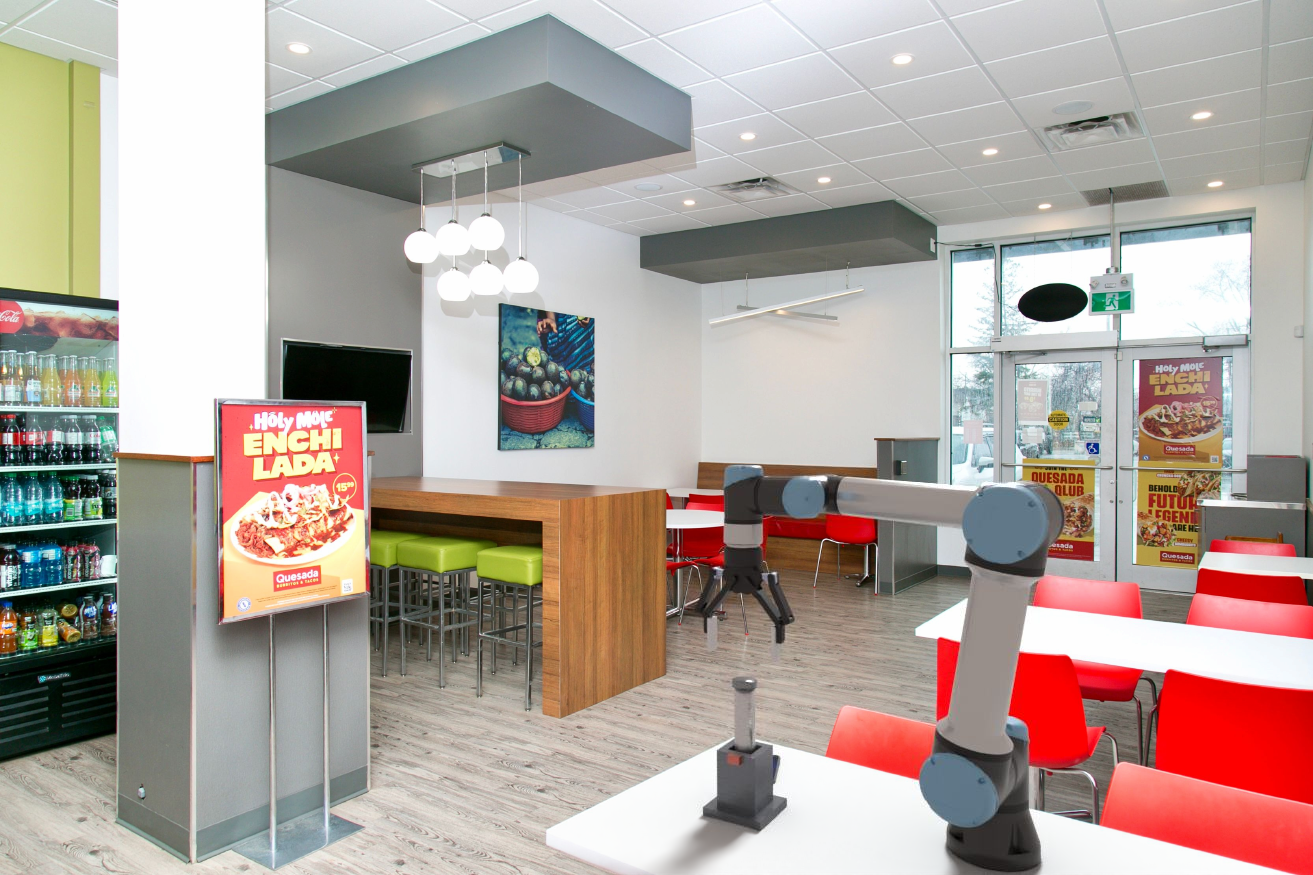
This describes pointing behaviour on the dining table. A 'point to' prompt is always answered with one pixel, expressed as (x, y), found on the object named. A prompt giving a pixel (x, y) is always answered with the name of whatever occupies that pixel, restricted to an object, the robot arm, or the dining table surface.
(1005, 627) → the robot arm
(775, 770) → the smartphone
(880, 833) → the dining table surface
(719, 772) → the stand base
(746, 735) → the column
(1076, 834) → the dining table surface
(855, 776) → the dining table surface
